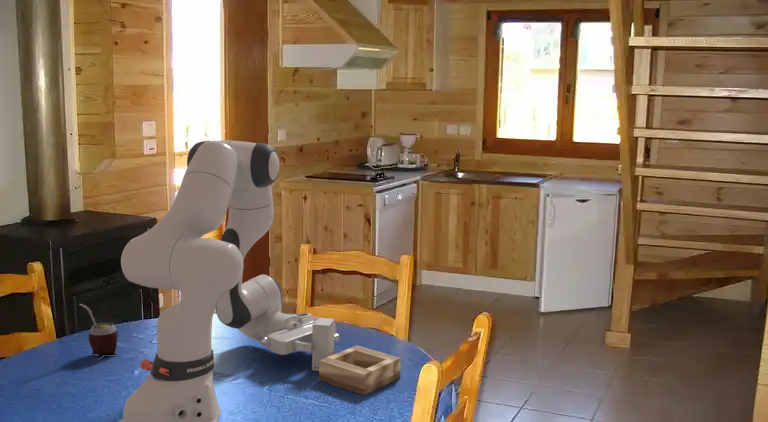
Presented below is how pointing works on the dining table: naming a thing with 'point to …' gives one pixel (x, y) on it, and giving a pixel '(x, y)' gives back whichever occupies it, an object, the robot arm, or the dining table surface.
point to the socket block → (359, 369)
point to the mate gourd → (102, 337)
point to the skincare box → (322, 340)
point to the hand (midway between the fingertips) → (325, 343)
